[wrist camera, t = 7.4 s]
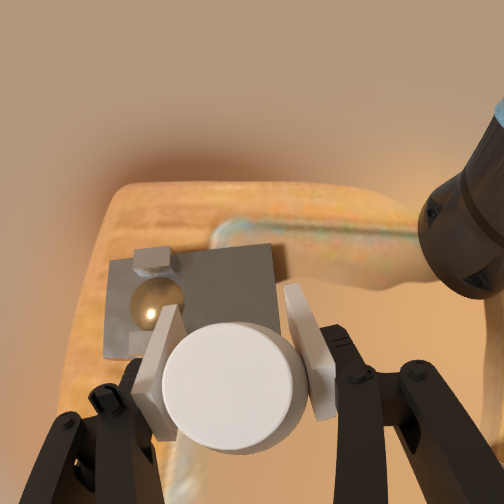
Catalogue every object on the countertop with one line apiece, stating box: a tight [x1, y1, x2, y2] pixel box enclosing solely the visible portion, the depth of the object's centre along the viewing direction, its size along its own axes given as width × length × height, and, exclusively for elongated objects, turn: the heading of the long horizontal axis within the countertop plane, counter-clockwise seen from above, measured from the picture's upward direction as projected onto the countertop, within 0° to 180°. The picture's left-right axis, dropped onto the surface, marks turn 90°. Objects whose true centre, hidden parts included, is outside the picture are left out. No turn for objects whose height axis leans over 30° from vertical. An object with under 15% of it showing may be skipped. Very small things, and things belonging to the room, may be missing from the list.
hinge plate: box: [103, 243, 281, 361], centre depth 31 cm, size 18×11×4 cm, turn 95°
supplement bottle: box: [162, 322, 308, 455], centre depth 13 cm, size 5×5×10 cm
